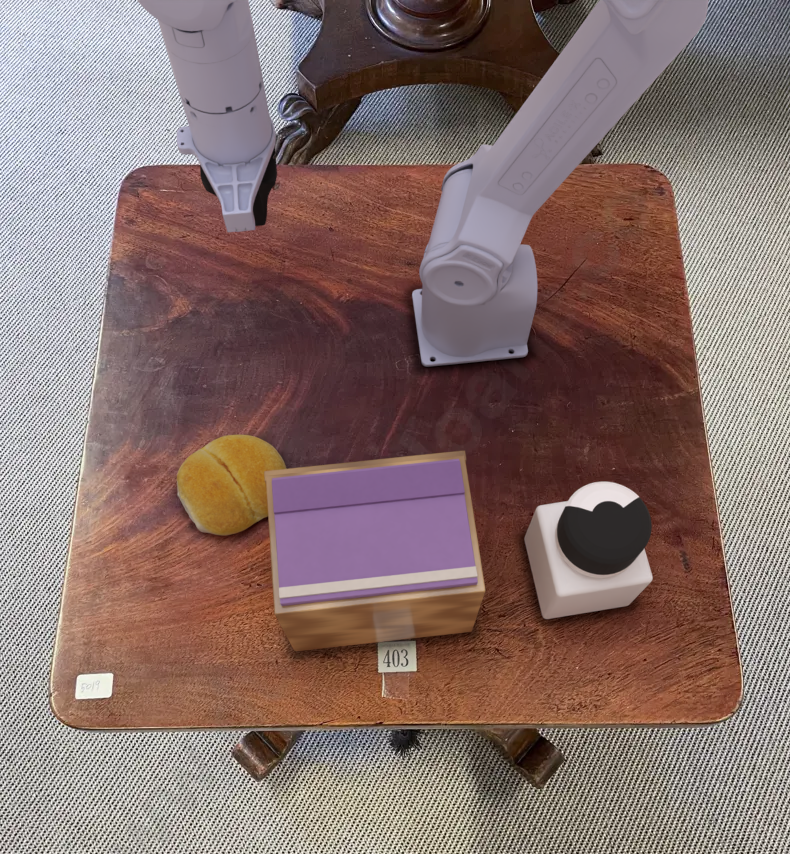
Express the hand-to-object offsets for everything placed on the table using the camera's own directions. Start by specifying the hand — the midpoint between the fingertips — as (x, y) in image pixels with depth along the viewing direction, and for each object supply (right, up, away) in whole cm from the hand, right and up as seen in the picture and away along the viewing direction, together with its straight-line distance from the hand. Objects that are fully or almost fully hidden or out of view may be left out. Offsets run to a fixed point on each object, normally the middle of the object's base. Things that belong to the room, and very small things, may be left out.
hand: (252, 219), depth 70 cm
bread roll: (-2, -22, +2) cm, 22 cm away
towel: (+10, -25, -12) cm, 30 cm away
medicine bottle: (+26, -29, -1) cm, 39 cm away
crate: (+10, -30, -1) cm, 31 cm away
